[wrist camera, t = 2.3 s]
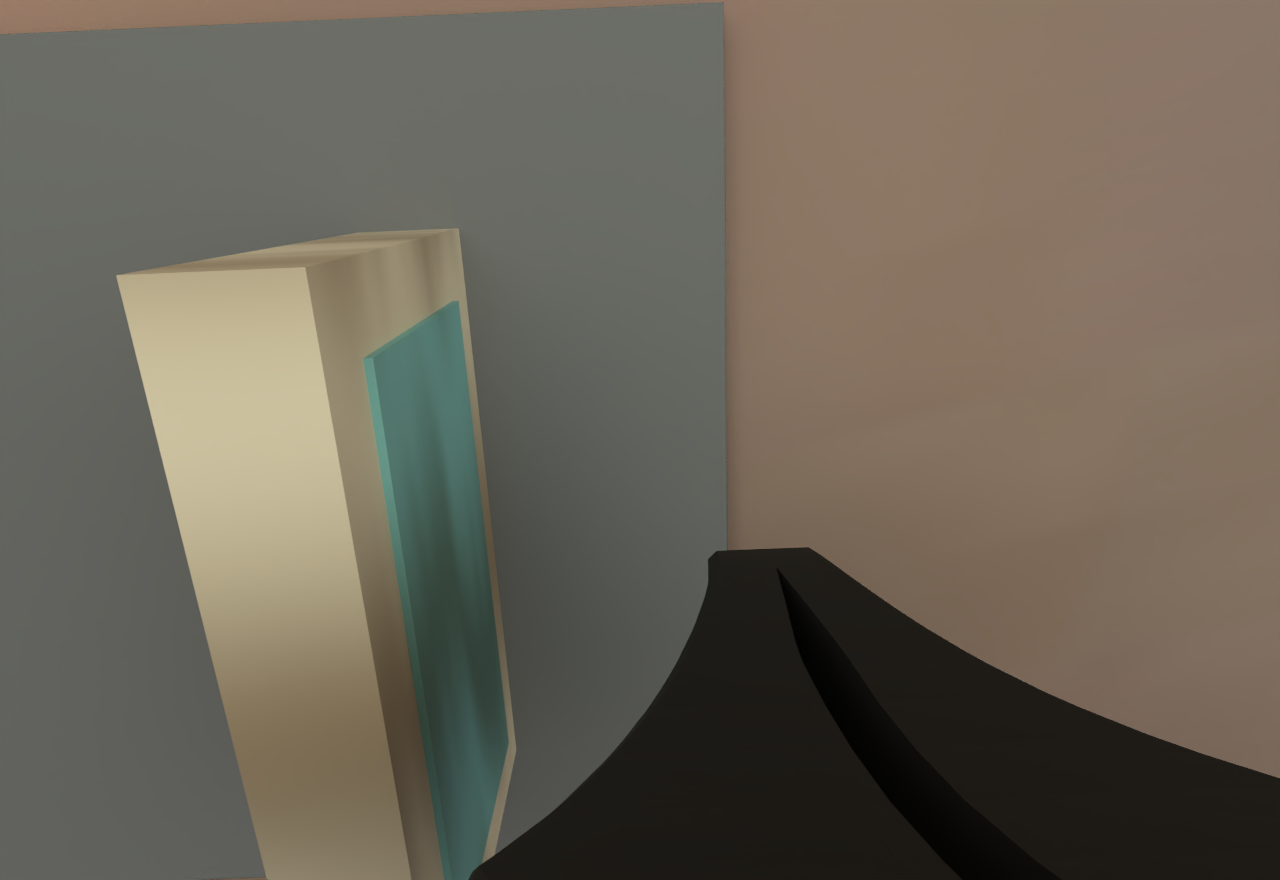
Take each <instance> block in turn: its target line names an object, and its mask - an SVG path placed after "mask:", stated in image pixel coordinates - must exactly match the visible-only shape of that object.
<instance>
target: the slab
mask: <svg viewBox="0 0 1280 880" xmlns="http://www.w3.org/2000/svg"><path fill="white" fill-rule="evenodd" d="M116 277H117V281H118V285H119V289H120V293H121V297H122V301H123V305H124V309H125V313H126V317H127V321H128V325H129V329H130V333H131V337H132V341H133V345H134V349H135V353H136V357H137V361H138V365H139V369H140V373H141V377H142V381H143V385H144V389H145V393H146V397H147V401H148V405H149V409H150V413H151V417H152V421H153V425H154V429H155V433H156V437H157V441H158V445H159V449H160V453H161V457H162V461H163V465H164V469H165V473H166V477H167V481H168V485H169V489H170V493H171V497H172V501H173V505H174V509H175V513H176V517H177V521H178V525H179V529H180V533H181V537H182V541H183V545H184V549H185V553H186V557H187V561H188V565H189V569H190V573H191V577H192V581H193V585H194V589H195V593H196V597H197V601H198V605H199V609H200V613H201V617H202V621H203V625H204V629H205V633H206V637H207V641H208V646H209V650H210V654H211V658H212V662H213V666H214V670H215V674H216V678H217V682H218V686H219V690H220V694H221V698H222V702H223V706H224V710H225V714H226V718H227V722H228V726H229V730H230V734H231V738H232V742H233V746H234V750H235V754H236V758H237V762H238V766H239V770H240V774H241V778H242V782H243V786H244V790H245V794H246V798H247V802H248V806H249V810H250V814H251V818H252V822H253V826H254V830H255V834H256V838H257V842H258V846H259V850H260V854H261V858H262V862H263V866H264V870H265V874H266V878H267V880H468V879H469V877H470V875H471V873H472V872H473V871H474V870H475V869H476V868H477V867H478V866H479V865H481V864H482V863H484V862H485V861H487V860H488V859H490V858H491V857H493V856H494V855H495V850H496V846H497V841H498V836H499V831H500V826H501V822H502V817H503V812H504V807H505V802H506V798H507V793H508V788H509V783H510V778H511V773H512V769H513V764H514V759H515V754H516V742H515V733H514V724H513V714H512V705H511V696H510V687H509V678H508V669H507V660H506V651H505V642H504V633H503V624H502V615H501V606H500V597H499V588H498V579H497V570H496V561H495V552H494V543H493V534H492V525H491V515H490V506H489V497H488V488H487V479H486V470H485V461H484V452H483V443H482V434H481V425H480V416H479V407H478V398H477V389H476V380H475V371H474V362H473V353H472V344H471V335H470V326H469V316H468V307H467V298H466V289H465V280H464V271H463V262H462V253H461V244H460V235H459V228H455V229H432V230H409V231H385V232H362V233H353V234H347V235H342V236H336V237H330V238H325V239H319V240H313V241H308V242H302V243H296V244H291V245H285V246H279V247H273V248H268V249H262V250H256V251H251V252H245V253H239V254H234V255H228V256H222V257H217V258H211V259H205V260H200V261H194V262H188V263H183V264H177V265H171V266H166V267H160V268H154V269H149V270H143V271H137V272H132V273H126V274H120V275H116Z"/></svg>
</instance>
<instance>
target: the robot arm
mask: <svg viewBox="0 0 1280 880" xmlns="http://www.w3.org/2000/svg"><path fill="white" fill-rule="evenodd" d="M468 880H1280V778H1277V777H1273V776H1270V775H1267V774H1264V773H1261V772H1258V771H1255V770H1251V769H1248V768H1245V767H1242V766H1239V765H1236V764H1233V763H1229V762H1226V761H1223V760H1220V759H1217V758H1214V757H1210V756H1207V755H1204V754H1201V753H1198V752H1195V751H1193V750H1190V749H1187V748H1184V747H1181V746H1178V745H1176V744H1173V743H1170V742H1167V741H1164V740H1161V739H1159V738H1156V737H1153V736H1150V735H1148V734H1145V733H1142V732H1140V731H1137V730H1135V729H1132V728H1130V727H1127V726H1125V725H1122V724H1120V723H1117V722H1115V721H1112V720H1110V719H1107V718H1105V717H1102V716H1100V715H1097V714H1095V713H1092V712H1090V711H1087V710H1085V709H1082V708H1080V707H1077V706H1075V705H1073V704H1071V703H1068V702H1066V701H1064V700H1061V699H1059V698H1057V697H1055V696H1052V695H1050V694H1048V693H1046V692H1044V691H1042V690H1039V689H1037V688H1035V687H1033V686H1031V685H1029V684H1027V683H1025V682H1023V681H1021V680H1019V679H1017V678H1015V677H1013V676H1011V675H1009V674H1007V673H1005V672H1003V671H1001V670H999V669H997V668H995V667H993V666H991V665H989V664H987V663H985V662H983V661H982V660H980V659H978V658H976V657H974V656H972V655H971V654H969V653H967V652H965V651H963V650H962V649H960V648H958V647H957V646H955V645H953V644H952V643H950V642H948V641H947V640H945V639H943V638H942V637H940V636H938V635H937V634H935V633H933V632H932V631H930V630H928V629H927V628H925V627H923V626H922V625H920V624H919V623H917V622H916V621H914V620H913V619H911V618H909V617H908V616H906V615H905V614H903V613H902V612H900V611H899V610H897V609H896V608H894V607H893V606H891V605H890V604H888V603H887V602H886V601H884V600H883V599H881V598H880V597H878V596H877V595H875V594H874V593H873V592H871V591H870V590H868V589H867V588H866V587H864V586H863V585H861V584H860V583H859V582H857V581H856V580H854V579H853V578H852V577H850V576H849V575H847V574H846V573H845V572H843V571H842V570H841V569H839V568H838V567H836V566H835V565H834V564H832V563H831V562H830V561H828V560H827V559H825V558H824V557H823V556H821V555H820V554H818V553H817V552H815V551H813V550H812V549H810V548H808V547H806V548H779V549H753V550H727V551H716V552H715V553H714V554H713V555H712V556H711V557H710V558H709V559H708V586H707V590H706V594H705V597H704V600H703V603H702V606H701V609H700V612H699V614H698V617H697V620H696V623H695V625H694V628H693V630H692V632H691V634H690V636H689V638H688V640H687V642H686V644H685V647H684V649H683V651H682V653H681V655H680V657H679V659H678V661H677V663H676V665H675V666H674V668H673V670H672V672H671V673H670V675H669V677H668V678H667V680H666V682H665V683H664V685H663V687H662V688H661V690H660V691H659V693H658V694H657V696H656V697H655V699H654V700H653V702H652V703H651V705H650V706H649V707H648V709H647V710H646V712H645V713H644V714H643V715H642V717H641V718H640V719H639V720H638V722H637V723H636V724H635V726H634V727H633V728H632V729H631V731H630V732H629V733H628V735H627V736H626V737H625V738H624V740H623V741H622V742H621V743H620V744H619V745H618V747H617V748H616V749H615V750H614V751H613V752H612V753H611V755H610V756H609V757H608V758H607V759H606V760H605V761H604V762H603V763H602V764H601V765H600V766H599V767H598V768H597V769H596V770H595V771H594V772H593V773H592V774H591V775H590V776H589V777H588V778H587V779H586V780H585V781H584V782H583V783H582V784H581V785H580V786H579V787H578V788H577V789H576V790H575V791H574V792H573V793H571V794H570V795H569V796H568V797H567V798H566V799H565V800H564V801H563V802H562V803H561V804H560V805H559V806H558V807H557V808H556V809H555V810H553V811H552V812H551V813H550V814H549V815H548V816H546V817H545V818H544V819H542V820H541V821H540V822H538V823H537V824H536V825H534V826H533V827H532V828H530V829H529V830H528V831H526V832H525V833H524V834H522V835H521V836H520V837H518V838H517V839H516V840H514V841H513V842H512V843H510V844H509V845H508V846H506V847H505V848H504V849H502V850H501V851H500V852H498V853H497V854H495V855H494V856H493V857H491V858H490V859H488V860H487V861H485V862H484V863H482V864H481V865H479V866H478V867H477V868H476V869H475V870H474V871H473V872H472V873H471V875H470V877H469V879H468Z"/></svg>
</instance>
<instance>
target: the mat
mask: <svg viewBox="0 0 1280 880" xmlns="http://www.w3.org/2000/svg"><path fill="white" fill-rule="evenodd" d="M455 228H459V235H460V244H461V253H462V262H463V271H464V280H465V289H466V298H467V307H468V316H469V326H470V335H471V344H472V353H473V362H474V371H475V380H476V389H477V398H478V407H479V416H480V425H481V434H482V443H483V452H484V461H485V470H486V479H487V488H488V497H489V506H490V515H491V525H492V534H493V543H494V552H495V561H496V570H497V579H498V588H499V597H500V606H501V615H502V624H503V633H504V642H505V651H506V660H507V669H508V678H509V687H510V696H511V705H512V714H513V724H514V733H515V742H516V754H515V759H514V764H513V769H512V773H511V778H510V783H509V788H508V793H507V798H506V802H505V807H504V812H503V817H502V822H501V826H500V831H499V836H498V841H497V846H496V850H495V854H497V853H498V852H500V851H501V850H502V849H504V848H505V847H506V846H508V845H509V844H510V843H512V842H513V841H514V840H516V839H517V838H518V837H520V836H521V835H522V834H524V833H525V832H526V831H528V830H529V829H530V828H532V827H533V826H534V825H536V824H537V823H538V822H540V821H541V820H542V819H544V818H545V817H546V816H548V815H549V814H550V813H551V812H552V811H553V810H555V809H556V808H557V807H558V806H559V805H560V804H561V803H562V802H563V801H564V800H565V799H566V798H567V797H568V796H569V795H570V794H571V793H573V792H574V791H575V790H576V789H577V788H578V787H579V786H580V785H581V784H582V783H583V782H584V781H585V780H586V779H587V778H588V777H589V776H590V775H591V774H592V773H593V772H594V771H595V770H596V769H597V768H598V767H599V766H600V765H601V764H602V763H603V762H604V761H605V760H606V759H607V758H608V757H609V756H610V755H611V753H612V752H613V751H614V750H615V749H616V748H617V747H618V745H619V744H620V743H621V742H622V741H623V740H624V738H625V737H626V736H627V735H628V733H629V732H630V731H631V729H632V728H633V727H634V726H635V724H636V723H637V722H638V720H639V719H640V718H641V717H642V715H643V714H644V713H645V712H646V710H647V709H648V707H649V706H650V705H651V703H652V702H653V700H654V699H655V697H656V696H657V694H658V693H659V691H660V690H661V688H662V687H663V685H664V683H665V682H666V680H667V678H668V677H669V675H670V673H671V672H672V670H673V668H674V666H675V665H676V663H677V661H678V659H679V657H680V655H681V653H682V651H683V649H684V647H685V644H686V642H687V640H688V638H689V636H690V634H691V632H692V630H693V628H694V625H695V623H696V620H697V617H698V614H699V612H700V609H701V606H702V603H703V600H704V597H705V594H706V590H707V586H708V559H709V558H710V557H711V556H712V555H713V554H714V553H715V552H716V551H727V473H726V307H725V142H724V2H721V3H698V4H676V5H653V6H631V7H608V8H585V9H563V10H540V11H518V12H495V13H473V14H450V15H428V16H405V17H383V18H360V19H338V20H315V21H293V22H270V23H247V24H225V25H202V26H180V27H157V28H135V29H112V30H90V31H67V32H45V33H22V34H0V880H200V879H227V878H253V877H266V874H265V870H264V866H263V862H262V858H261V854H260V850H259V846H258V842H257V838H256V834H255V830H254V826H253V822H252V818H251V814H250V810H249V806H248V802H247V798H246V794H245V790H244V786H243V782H242V778H241V774H240V770H239V766H238V762H237V758H236V754H235V750H234V746H233V742H232V738H231V734H230V730H229V726H228V722H227V718H226V714H225V710H224V706H223V702H222V698H221V694H220V690H219V686H218V682H217V678H216V674H215V670H214V666H213V662H212V658H211V654H210V650H209V646H208V641H207V637H206V633H205V629H204V625H203V621H202V617H201V613H200V609H199V605H198V601H197V597H196V593H195V589H194V585H193V581H192V577H191V573H190V569H189V565H188V561H187V557H186V553H185V549H184V545H183V541H182V537H181V533H180V529H179V525H178V521H177V517H176V513H175V509H174V505H173V501H172V497H171V493H170V489H169V485H168V481H167V477H166V473H165V469H164V465H163V461H162V457H161V453H160V449H159V445H158V441H157V437H156V433H155V429H154V425H153V421H152V417H151V413H150V409H149V405H148V401H147V397H146V393H145V389H144V385H143V381H142V377H141V373H140V369H139V365H138V361H137V357H136V353H135V349H134V345H133V341H132V337H131V333H130V329H129V325H128V321H127V317H126V313H125V309H124V305H123V301H122V297H121V293H120V289H119V285H118V281H117V277H116V275H120V274H126V273H132V272H137V271H143V270H149V269H154V268H160V267H166V266H171V265H177V264H183V263H188V262H194V261H200V260H205V259H211V258H217V257H222V256H228V255H234V254H239V253H245V252H251V251H256V250H262V249H268V248H273V247H279V246H285V245H291V244H296V243H302V242H308V241H313V240H319V239H325V238H330V237H336V236H342V235H347V234H353V233H362V232H385V231H409V230H432V229H455Z"/></svg>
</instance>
